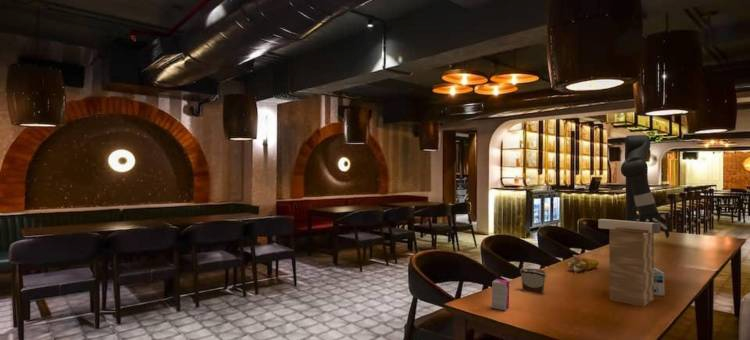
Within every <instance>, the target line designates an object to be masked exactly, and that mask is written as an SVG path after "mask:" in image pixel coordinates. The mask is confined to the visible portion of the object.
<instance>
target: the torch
mask: <svg viewBox="0 0 750 340" xmlns="http://www.w3.org/2000/svg"><path fill="white" fill-rule="evenodd" d="M572 256H573V258H574V259H571V262H568V263H567V264H568V266H567V268H569V269H571V271H572V272H573V271H574V273H575V274H577V273H579V272H581V271H583V272H584V271H585V272H588V271H589V270H591V269H593V268H596V267H597V266H599V263H600V261H598V260H597V259H593V258H588V257H581V258H580V257H579V255H577V254H573V255H572Z"/></svg>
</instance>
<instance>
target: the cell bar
mask: <svg viewBox="0 0 750 340" xmlns="http://www.w3.org/2000/svg"><path fill="white" fill-rule="evenodd" d="M597 221H598V224H597V227H598V229H602V230H604V229H606V230H610V229H615V227H618V228H629V229H641V230H649V233H654V234H660V233H661V226H660V223H649V222H636V221H625V220H620V219H609V218H608V219H607V218H599V219H597Z"/></svg>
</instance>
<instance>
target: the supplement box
mask: <svg viewBox="0 0 750 340" xmlns="http://www.w3.org/2000/svg"><path fill="white" fill-rule="evenodd" d="M491 284H492V285H491V286H492V287H491V310H495V311H501V312H506V311H507V310H508V309H509V308H510V280H508V279H507V280H506V279H499V278H496V279H494V280H493V281H492V282H491Z"/></svg>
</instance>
